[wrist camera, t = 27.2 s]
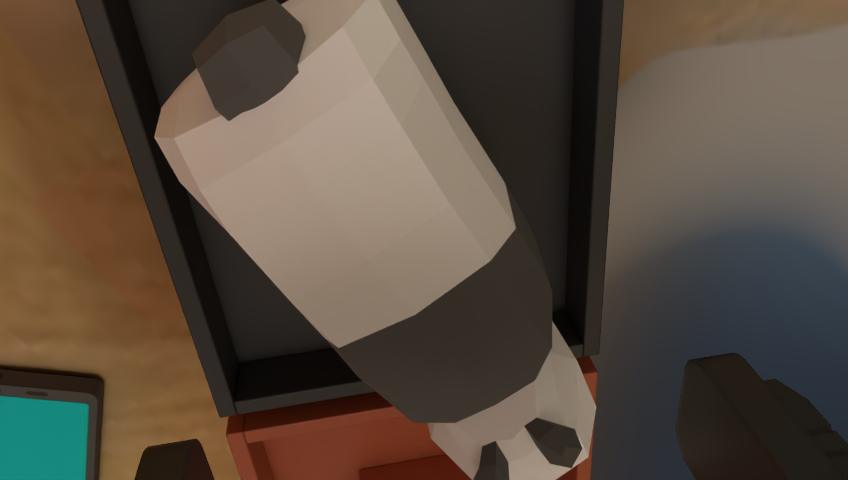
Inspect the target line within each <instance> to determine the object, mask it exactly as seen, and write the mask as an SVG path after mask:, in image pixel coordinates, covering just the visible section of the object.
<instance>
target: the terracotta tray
mask: <svg viewBox="0 0 848 480" xmlns="http://www.w3.org/2000/svg"><path fill="white" fill-rule="evenodd" d="M576 360H577V362H578V364H579V366H580V369H581V371H582V374H583V376H584V379H585V381H586V383H587V386H588V388H589V391H590V393H591V395H592V398H593V400H594V403H595V404H596V390H597V374H598V372H597V370H596V368H595V366H594V364H593V363H592V361H591V359H590V357H589V356H586V357H584V356H583V355H582V357H579V358H576ZM593 433H594V424H593V431H592V437H591V444H590V450H589V457H588V458H587V459H585V460H584V461H582V462H581V463H579V464H578V465H577V466H575V467H574V468H572V469H571V470H569V471H568V472H566V473H565V474H563V475H562V476H560V477H559V478H557V479H556V480H590V475H591V460H592V447H593ZM226 437H227V440H228V443H229V446H230V448H231V451H232V454H233V457H234V460H235V463H236V466H237V469H238V472H239V474H240V477H241V480H359V470H360V469H366V468H372V467H377V466H383V465H388V464H394V463H400V462H405V461H411V460H417V459H422V458H428V457H433V456H439V455H445V454H446V453H445V452H444V451H443V450H442V449H441V448H440V447H439V446H438V445H437V444H436V443H435V442H434V441H433V440H432V439H431V435H430V431H429V427H428V423H413V422H412V421H410V420H409V419H408V418H407V417H406V416H405V415H403V414H402V413H401V412H400V411H399V410H397V409H396V408H395V407H394V406H393V405H392V404H390V403H389V402H388V401H387V400H386V399H384V398H383V397H382V396H381V395H380V394H378V393H377V392H370V393H364V394H358V395H352V396H346V397H340V398H334V399H328V400H322V401H316V402H310V403H304V404H298V405H292V406H287V407H281V408H275V409H269V410H263V411H257V412H251V413H245V414H238V413H237V415H233V416H229V418H228V425H227V431H226Z"/></svg>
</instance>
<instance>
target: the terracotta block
mask: <svg viewBox="0 0 848 480" xmlns="http://www.w3.org/2000/svg"><path fill="white" fill-rule="evenodd" d="M359 480H472V479H471V478H470V477H469V476H468V475H467V474H466V473H465V472H464V471H463V470H462V469H461V468H460V467H459V466H458V465H457V464H456V463H455V462H454V461H453V460H452V459H451V458H450V457H449V456H448V455H447V454H445V455H439V456H433V457H428V458H422V459H417V460H411V461H405V462H400V463H394V464H388V465H383V466H377V467H372V468H366V469H360V470H359Z"/></svg>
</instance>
